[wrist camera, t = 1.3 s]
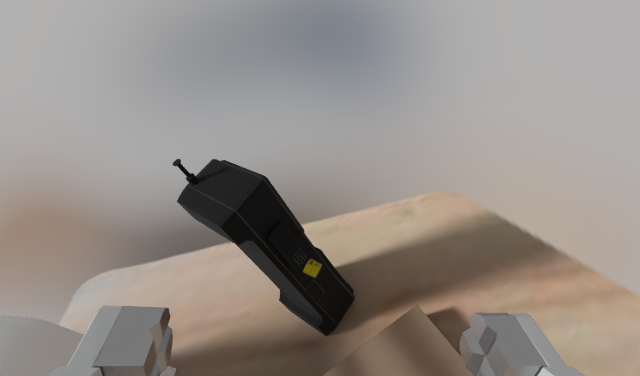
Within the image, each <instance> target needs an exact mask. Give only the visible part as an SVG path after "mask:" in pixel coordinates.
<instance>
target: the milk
mask: <svg viewBox="0 0 640 376" xmlns="http://www.w3.org/2000/svg"><path fill="white" fill-rule="evenodd" d="M83 336H84V335H83V334H81V333H78V332H75V331H73V330H70V329H67V328H64V327H62V326H59V325H56V324H54V323H51V322H48V321H44V320H40V319H35V318H28V317H13V316H0V376H49V375H50V374H51V373H53V372H54V371H55V370H57V369H58V368H60V367H67V365H68V363H69V362H70V360H71V358H72V356H73V354H74V353H75V351H76V349H77V347H78V345H79V344H80V342H81V340H82V338H83ZM175 372H176V368H173V367H170V366H168V367H167V369H165V370H164V371H163V372H162V373H161V374H160V376H174V375H175Z"/></svg>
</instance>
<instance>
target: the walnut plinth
mask: <svg viewBox="0 0 640 376" xmlns="http://www.w3.org/2000/svg"><path fill="white" fill-rule="evenodd" d="M323 376H474V375H473V374H472V373H471V372H470V371H469V370H468V369H467V368H466V367H465V365H464V363H463V361H462V358H461V356H460V355H459V354H458V352H457V351H456V350H455V349H454V348H453V346H452V345H451V344H450V343H449V342H448V341H447V339H446V338H445V337H444V336H443V335H442V333H441V332H440V331H439V330H438V329H437V327H436V326H435V325H434V324H433V323H432V322H431V320H430V319H429V318H428V317H427V316H426V314H425V313H424V312H423V311H422V310H421V309H420V307H419V306H418V305H416V306H415V307H413V308H412V309H411V310H409V311H408V312H407V313H405V314H404V315H403V316H401V317H400V318H399V319H397V320H396V321H395V322H393V323H392V324H391V325H389V326H388V327H387V328H385V329H384V330H383V331H381V332H380V333H379V334H377V335H376V336H375V337H373V338H372V339H371V340H369V341H368V342H367V343H365V344H364V345H363V346H361V347H360V348H359V349H357V350H356V351H355V352H353V353H352V354H351V355H349V356H348V357H347V358H345V359H344V360H343V361H341V362H340V363H339V364H337V365H336V366H335V367H333V368H332V369H331V370H330V371H328V372H327V373H326V374H324V375H323Z"/></svg>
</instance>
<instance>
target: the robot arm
mask: <svg viewBox="0 0 640 376" xmlns="http://www.w3.org/2000/svg"><path fill="white" fill-rule="evenodd" d="M169 320H170V313H169V308H158V307H135V306H103V307H102V308H100V309H99V310H98V311H97V313H96V315H95V317H94V318H93V320H92V322H91V324H90V326H89V327H88V329H87V331H86V333H85V335H84V336H83V338H82V340H81V342H80V344H79V345H78V347H77V349H76V351H75V353H74V354H73V356H72V358H71V360H70V362H69V363H68V365H67V367H60V368H58V369H57V370H55V371H54V372H53V373H51V374H50V375H49V376H160V374H161V373H162V372H163V371H164V370H165V369H167V367H168V363H169V360H170V356H171V350H172V342H173V335H172V329H171V328H170V327H169V326H168V323H169ZM468 322H469V324H470V326H471V327H470V328H469V329H467V330H466V331H464V332H463V334H462V336H461V339H460V354H461V358H462V361H463V363H464V365H465V367H466V368H467V369H468V370H469V371H470V372H471V373H472V374H473V375H474V376H584V375H583V374H582V373H580V372H579V371H577V370H576V369H575V368H573V367H567V366H566V364H565V363H564V362H563V360H562V359H561V357H560V356H559V355H558V353H557V352H556V350H555V349H554V347H553V346H552V345H551V343H550V342H549V340H548V339H547V338H546V336H545V335H544V333H543V332H542V331H541V329H540V328H539V326H538V325H537V323H536V322H535V321H534V319H533V318H532V317H531V316H530V315H528V314H523V313H474V314H473V315H471V317H470V319H469V321H468Z"/></svg>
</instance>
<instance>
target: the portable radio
mask: <svg viewBox="0 0 640 376" xmlns="http://www.w3.org/2000/svg"><path fill="white" fill-rule="evenodd" d="M180 162H181V160H180V159H177V160H176V161H175V162H173V165H174V166H178V167H179V168H180V170H181V171H182V172H183V173H184V174H185V175H186V176H187V177H186V180H187V181H188V182H189V184H188V185H187V186H186V187H185V189H184V190H183V191H182V193H181V195H180V197H179V198H178V200H177V202H178V203H179V204H180V205H181V206H182V207H183V208H184V209H185V210H186V211H187V212H188V213H190V215H192V217H194V218H195V219H196V220H198V221H199V222H201V223H203V224H204V225H206V226H207V227H209V228H211V229H212V230H214V231H215V232H217V233H219V234H220V235H222V236H224V237H225V238H227V239H228V240H230V241H231V242H233V243H235V244H236V245H237V246H238V247H239V248H240V249H241V250H242V251H243V252H244V253H245V254H246V255H247V256H248V257H249V258H250V259H251V260H252V261H253V262H254V263H255V264H256V265H257V266H258V267H259V268H260V269H261V270H262V271H263V272H264V273H265V274H266V275H267V276H268V277H269V279H270V280H271V281H272V282H273V283H274V284H275V285H276V286H277V287H278V288H279V289H280V299H279V301H280V302H281V303H282V304H284V305H285V306H286V307H287V308H288V309H289V310H290V311H291V312H292V313H294V314H295V315H297V316H298V317H300V318H301V319H302V320H304V321H305V322H307V323H308V324H310V325H311V326H312V327H314V328H315V329H317V330H318V331H320V332H321V333H322V334H324V335H325V336H327V335H328V334H329V333H331V332H332V331H333V330H334V329H335V327H336V326H337V325H338V324H339V322H340V320H341V319H342V317H343V316H344V314H345V313H346V311H347V309H348V308H349V306H350V305H351V303H352V302H353V300H354V295H353V289H352V288H351V287H350V286H349V284H348V283H347V282H346V281H345V280H344V279H343V278H342V276H341V275H340V274H339V273H338V272H337V270H336V269H335V268H334V266H333V265H332V264H331V263H330V261H329V260H328V259H327V257H326V256H325V255H324V253H323V252H322V251H321V250H320V249H318V248H316V247H314V246H313V245H312V243H311V242H310V240H309V239H308V238H307V236H306V235H305V234H304V229H303V228H302V226H301V225H300V223H299V222H298V221H297V219H296V218H295V216H294V215H293V214H292V212H291V211H290V209H289V208H288V207H287V205H286V204H285V202H284V201H283V199H282V198H281V197H280V195H279V194H278V193H277V191H276V190H275V188H274V187H273V185H272V184H271V183H270V181H269V180H268V178H266V177H265V176H263V175H261V174H258V173H256V172H253V171H251V170H248V169H246V168H243V167H241V166H238V165H236V164H233V163H230V162H228V161H225V160H222V161H219V160H216V159H212V160H211V161H210V162H209V163H208V164H207V165H206V166H205V167H204V168H203V169H202V170H201V172H200V173H198V175H197V176H195V175H194V174H193V173H191V174H190V173H189V172H188V171H187V170H186V169H185V168H184V167H183V166H182V165H181V163H180Z"/></svg>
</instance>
